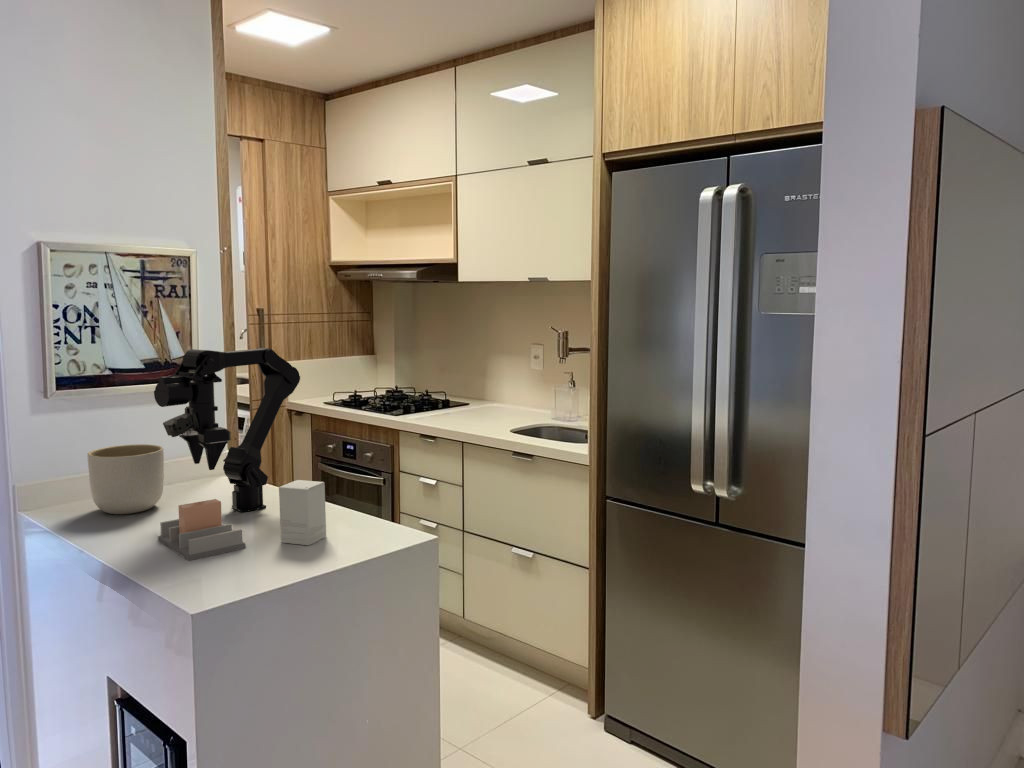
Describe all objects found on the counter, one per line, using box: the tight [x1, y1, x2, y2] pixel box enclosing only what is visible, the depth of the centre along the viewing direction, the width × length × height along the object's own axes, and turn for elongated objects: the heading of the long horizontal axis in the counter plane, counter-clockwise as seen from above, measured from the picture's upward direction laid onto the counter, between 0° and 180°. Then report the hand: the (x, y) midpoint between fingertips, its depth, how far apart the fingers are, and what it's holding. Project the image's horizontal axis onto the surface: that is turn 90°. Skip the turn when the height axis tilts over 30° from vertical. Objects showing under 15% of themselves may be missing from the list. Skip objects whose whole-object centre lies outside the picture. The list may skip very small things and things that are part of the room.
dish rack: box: [157, 518, 246, 561], centre depth 165 cm, size 12×18×4 cm, turn 43°
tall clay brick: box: [177, 498, 223, 533], centre depth 165 cm, size 8×3×8 cm, turn 133°
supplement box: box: [278, 479, 327, 546], centre depth 168 cm, size 7×7×13 cm
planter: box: [87, 443, 165, 515], centre depth 191 cm, size 17×17×15 cm
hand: (204, 466), depth 182 cm, fingers open, 9 cm apart
